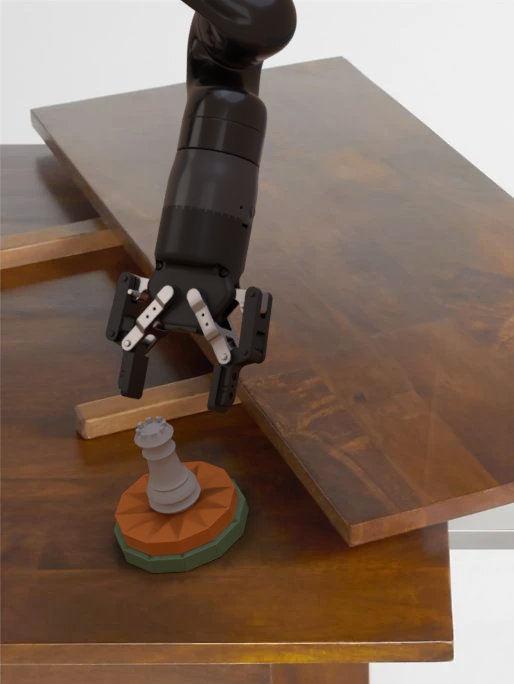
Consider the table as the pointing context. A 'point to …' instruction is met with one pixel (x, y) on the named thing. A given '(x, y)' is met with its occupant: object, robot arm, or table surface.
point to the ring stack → (181, 523)
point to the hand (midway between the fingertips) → (173, 404)
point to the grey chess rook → (165, 469)
